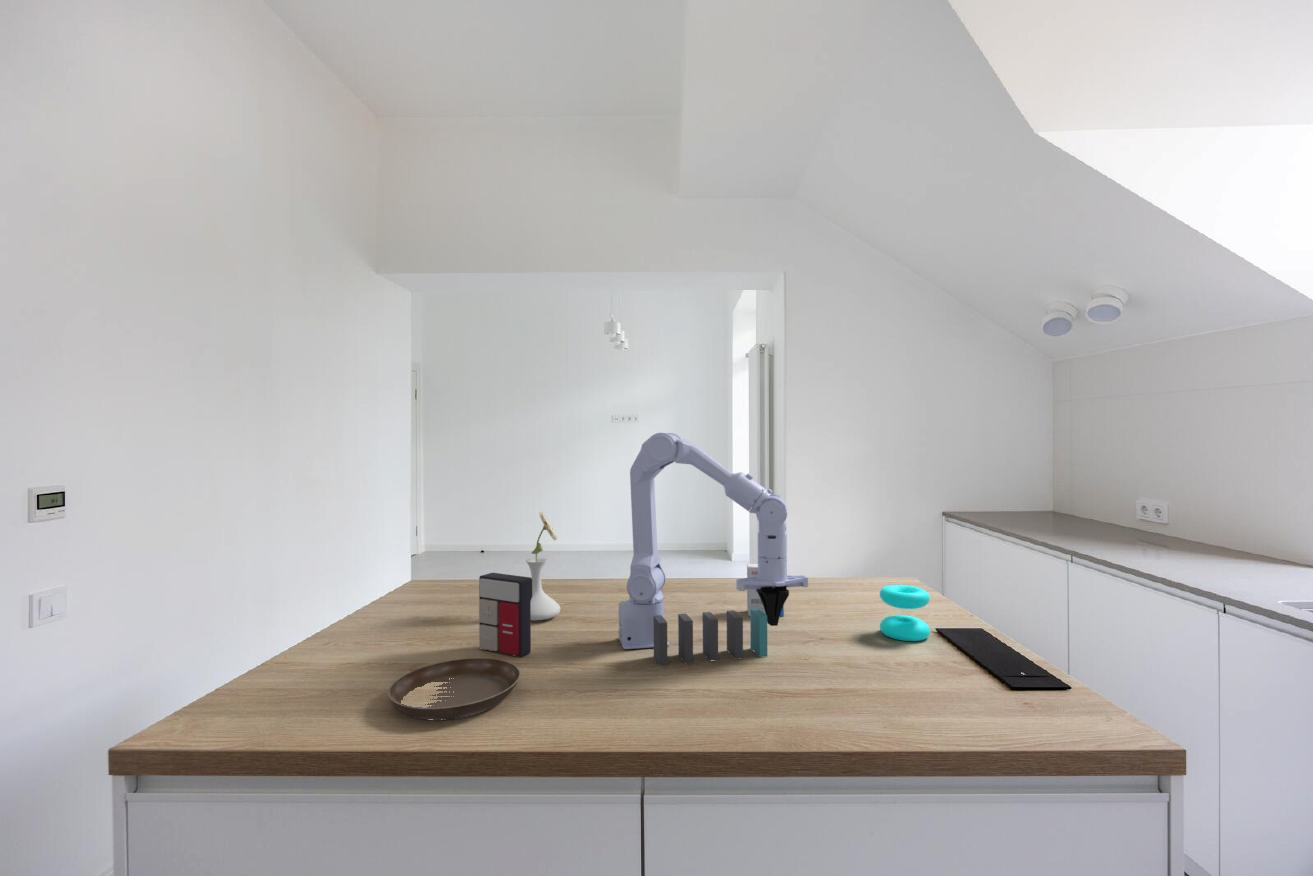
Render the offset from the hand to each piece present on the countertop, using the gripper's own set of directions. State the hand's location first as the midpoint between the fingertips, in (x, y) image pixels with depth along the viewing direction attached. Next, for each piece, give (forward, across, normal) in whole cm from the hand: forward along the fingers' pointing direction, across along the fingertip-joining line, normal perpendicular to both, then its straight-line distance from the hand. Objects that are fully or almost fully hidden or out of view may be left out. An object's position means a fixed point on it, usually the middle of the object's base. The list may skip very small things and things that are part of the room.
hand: (772, 624), depth 122 cm
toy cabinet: (+6, -52, +12) cm, 54 cm away
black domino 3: (+5, -8, 0) cm, 10 cm away
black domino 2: (+5, -18, 0) cm, 19 cm away
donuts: (+6, +32, +3) cm, 32 cm away
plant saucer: (+6, -60, -9) cm, 60 cm away
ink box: (+6, +8, +25) cm, 27 cm away
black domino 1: (+5, -23, 0) cm, 24 cm away
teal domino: (+5, -3, 0) cm, 6 cm away
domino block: (+5, -13, 0) cm, 14 cm away
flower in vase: (+6, -45, +35) cm, 58 cm away
